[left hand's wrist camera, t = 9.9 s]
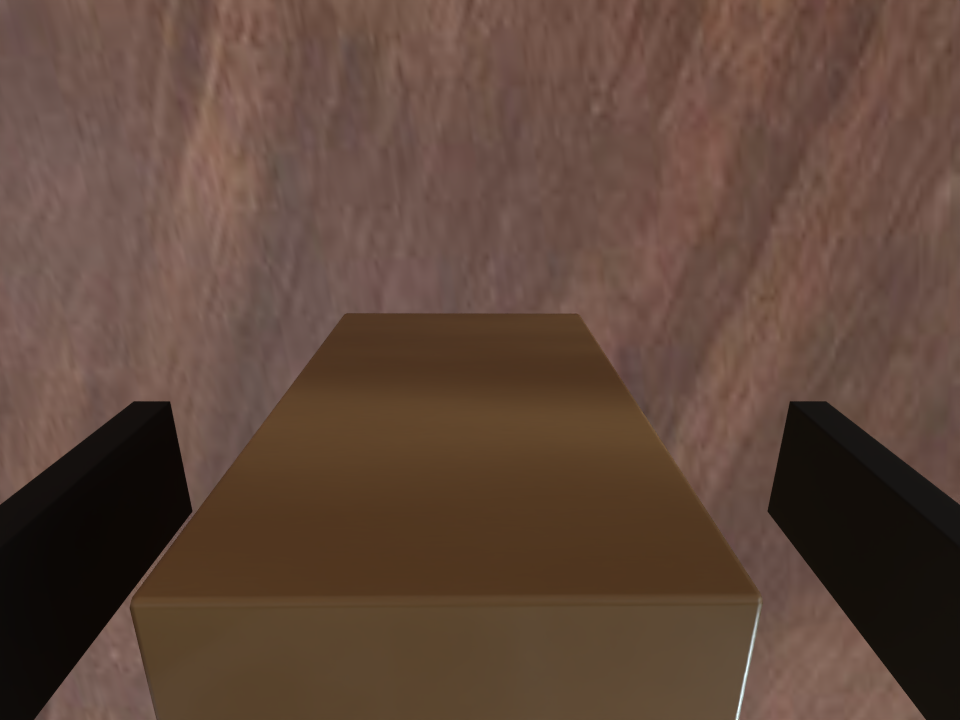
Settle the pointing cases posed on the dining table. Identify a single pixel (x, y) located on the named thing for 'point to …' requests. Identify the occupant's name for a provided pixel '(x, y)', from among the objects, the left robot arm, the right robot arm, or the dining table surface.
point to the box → (451, 545)
